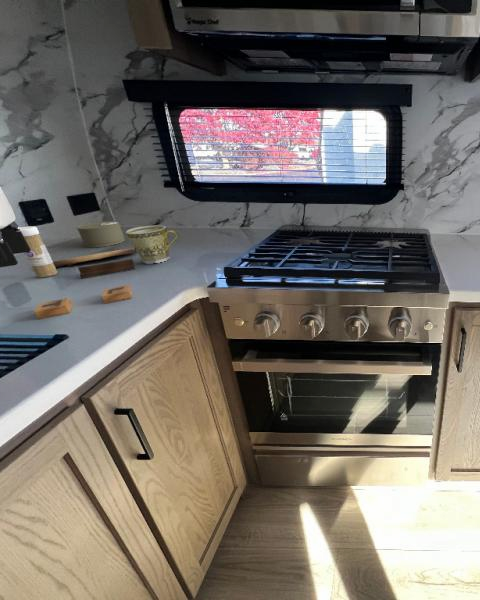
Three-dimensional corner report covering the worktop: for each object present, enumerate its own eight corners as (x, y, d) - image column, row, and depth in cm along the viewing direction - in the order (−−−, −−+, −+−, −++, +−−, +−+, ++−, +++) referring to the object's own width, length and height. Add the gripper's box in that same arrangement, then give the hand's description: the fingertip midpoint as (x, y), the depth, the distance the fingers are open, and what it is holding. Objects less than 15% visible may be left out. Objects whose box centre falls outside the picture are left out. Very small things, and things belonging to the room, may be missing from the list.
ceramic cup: (130, 267, 98) (117, 234, 94) (148, 256, 107) (137, 226, 103) (177, 264, 100) (167, 231, 96) (191, 254, 109) (181, 224, 105)
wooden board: (138, 248, 116) (137, 245, 115) (140, 254, 108) (139, 251, 108) (41, 264, 102) (39, 261, 102) (35, 272, 95) (34, 269, 95)
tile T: (38, 319, 70) (33, 311, 69) (43, 310, 73) (39, 302, 73) (69, 312, 72) (65, 304, 72) (73, 304, 76) (69, 297, 75)
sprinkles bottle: (33, 279, 91) (7, 230, 85) (41, 273, 94) (17, 226, 89) (54, 276, 92) (30, 228, 86) (62, 271, 96) (39, 225, 90)
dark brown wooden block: (81, 278, 90) (76, 269, 89) (82, 275, 93) (78, 266, 92) (134, 269, 97) (131, 260, 96) (135, 266, 99) (131, 258, 98)
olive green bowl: (84, 243, 123) (75, 224, 120) (124, 237, 130) (117, 219, 127) (85, 250, 115) (76, 230, 112) (127, 243, 122) (120, 224, 119)
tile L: (105, 303, 76) (101, 296, 75) (106, 296, 80) (103, 289, 79) (131, 298, 79) (128, 290, 78) (132, 291, 83) (129, 284, 82)
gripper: (-56, 157, 58) (-2, 251, 65) (-110, 160, 45) (-36, 278, 53) (6, 155, 62) (49, 245, 69) (-29, 158, 49) (30, 267, 56)
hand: (12, 259), depth 61 cm, fingers open, 9 cm apart
